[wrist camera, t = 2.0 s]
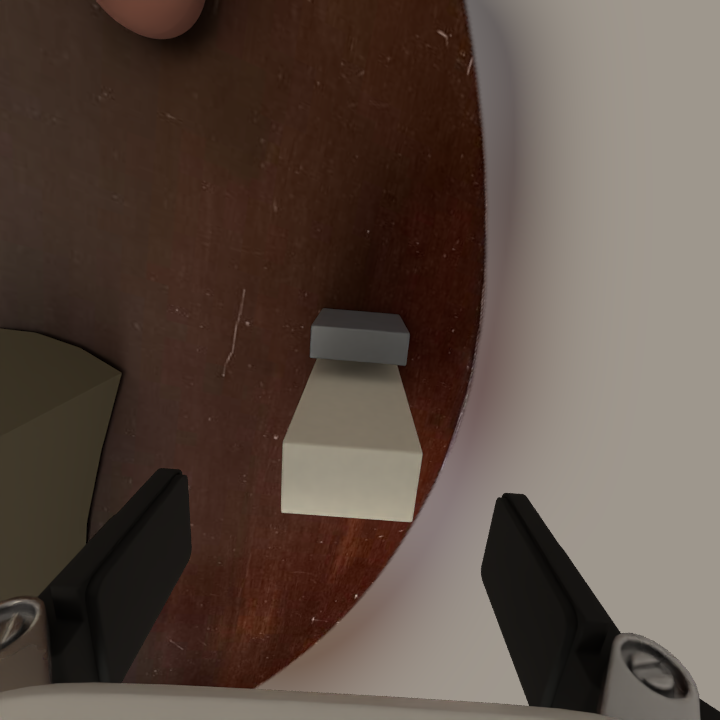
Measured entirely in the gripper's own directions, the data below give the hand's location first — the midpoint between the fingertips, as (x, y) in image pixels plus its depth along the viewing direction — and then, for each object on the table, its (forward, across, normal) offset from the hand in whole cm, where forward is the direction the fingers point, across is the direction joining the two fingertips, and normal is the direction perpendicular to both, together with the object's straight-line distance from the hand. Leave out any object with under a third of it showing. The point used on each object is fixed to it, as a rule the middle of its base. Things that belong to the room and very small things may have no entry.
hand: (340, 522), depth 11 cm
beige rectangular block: (+12, 0, 0) cm, 13 cm away
